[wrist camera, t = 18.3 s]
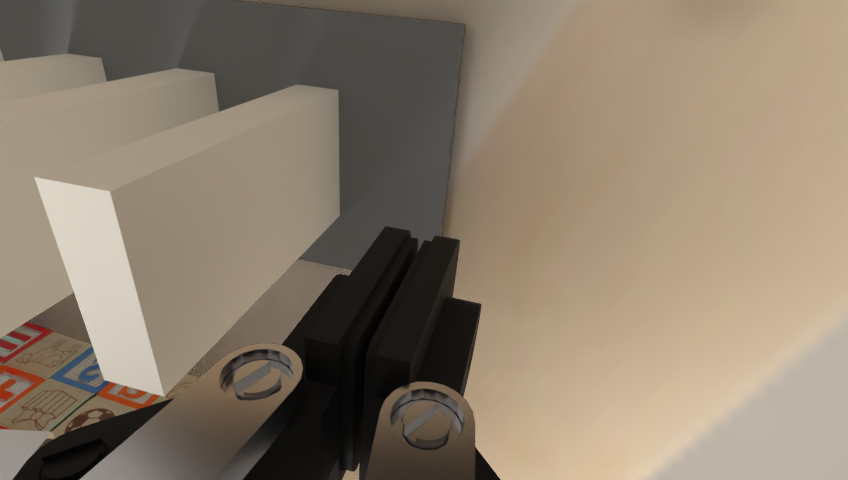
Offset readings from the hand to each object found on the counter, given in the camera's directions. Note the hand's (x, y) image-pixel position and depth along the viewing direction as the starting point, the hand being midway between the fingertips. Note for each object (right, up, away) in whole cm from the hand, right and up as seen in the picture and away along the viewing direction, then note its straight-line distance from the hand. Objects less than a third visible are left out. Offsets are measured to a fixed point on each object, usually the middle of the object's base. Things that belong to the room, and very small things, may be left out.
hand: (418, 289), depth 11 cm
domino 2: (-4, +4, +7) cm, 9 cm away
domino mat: (-13, +7, +10) cm, 18 cm away
